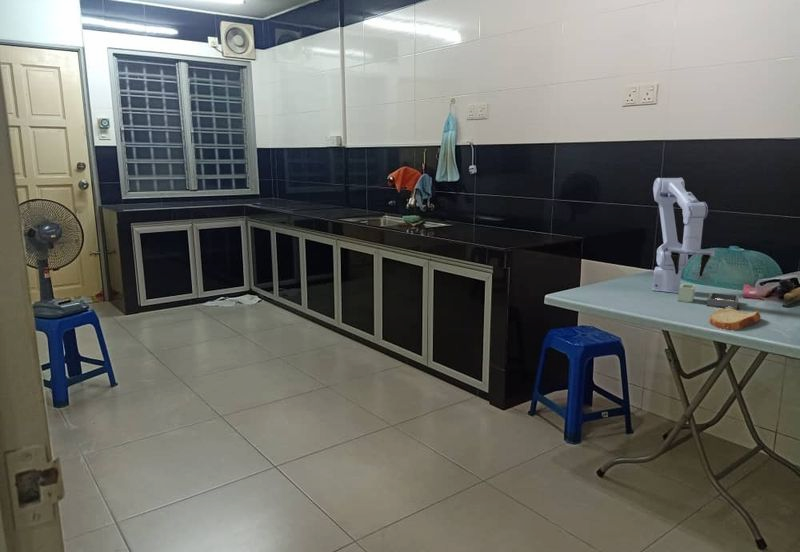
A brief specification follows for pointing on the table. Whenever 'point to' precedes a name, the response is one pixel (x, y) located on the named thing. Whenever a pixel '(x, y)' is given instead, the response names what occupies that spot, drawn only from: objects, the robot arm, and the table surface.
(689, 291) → the small crate
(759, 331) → the table surface
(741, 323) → the bread slice
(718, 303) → the grey rectangular tray
